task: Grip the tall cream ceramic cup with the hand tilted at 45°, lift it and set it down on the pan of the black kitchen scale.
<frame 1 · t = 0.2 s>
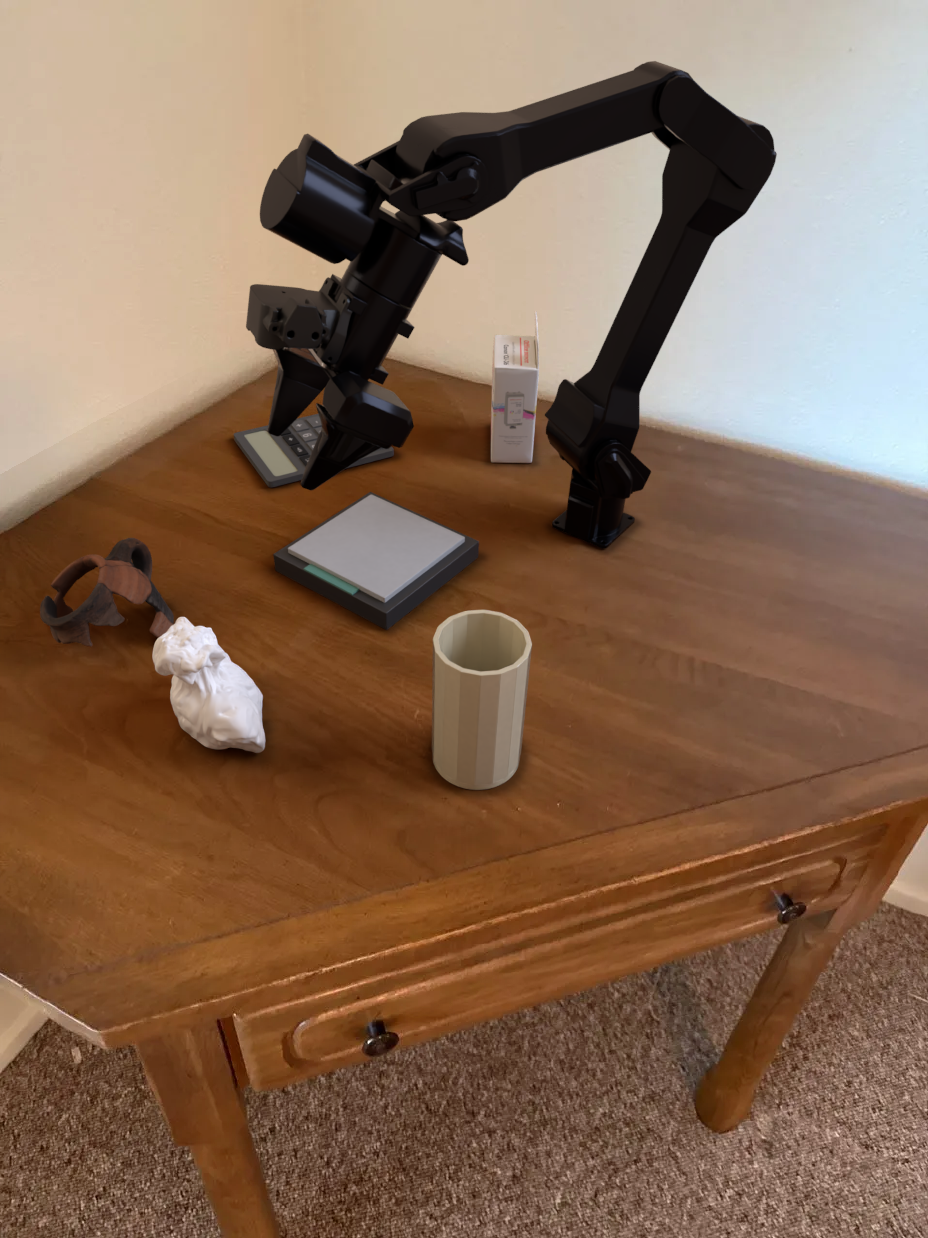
hand: (288, 460, 78), 15 cm above the table, tool tilted 35°, fingers open, 9 cm apart
ink cartridge box: (509, 446, 110), on the table
scale: (378, 564, 92), on the table
cup: (476, 755, 73), on the table
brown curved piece: (122, 625, 84), on the table
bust: (220, 726, 75), on the table
calculator: (313, 448, 108), on the table
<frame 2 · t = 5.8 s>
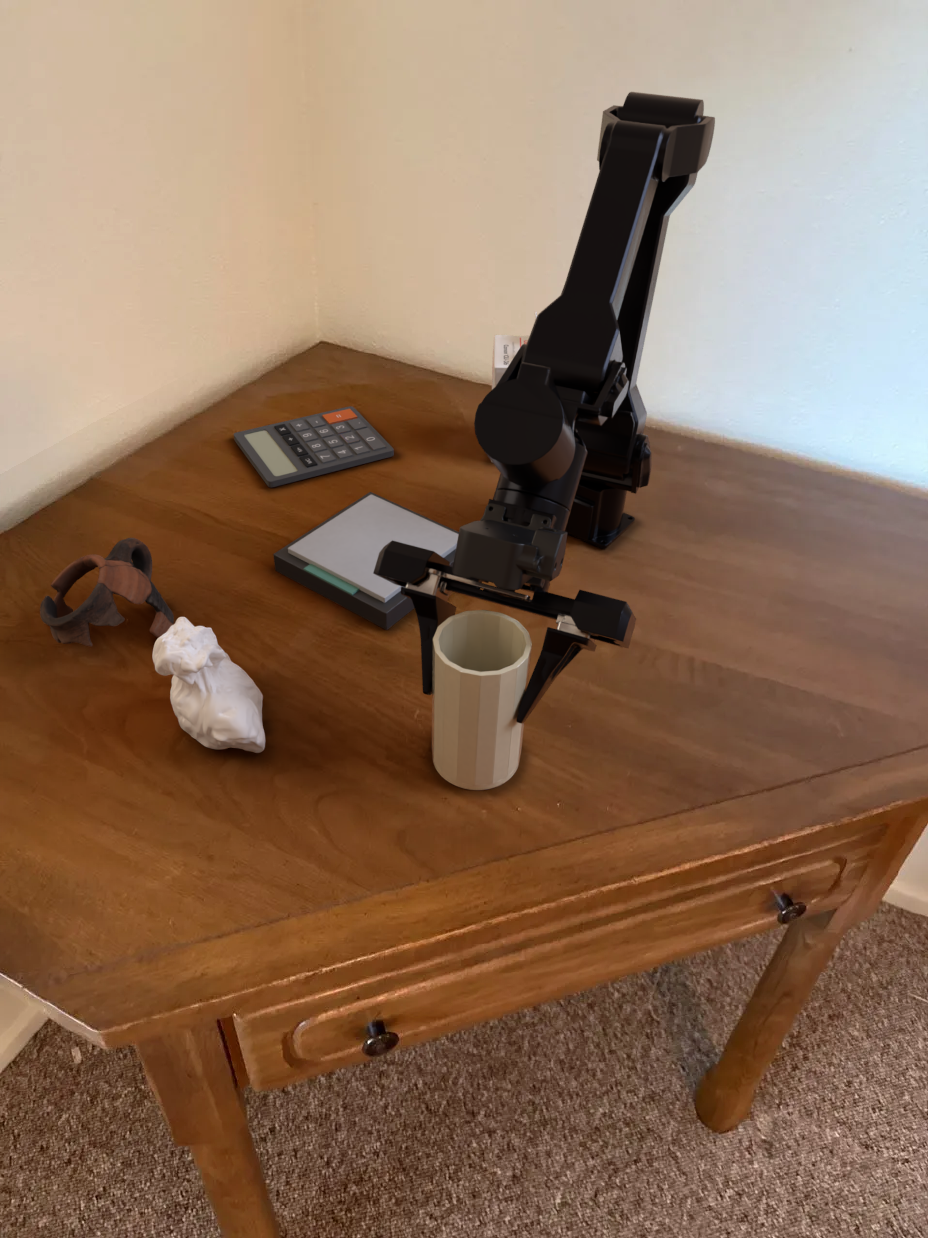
hand: (472, 708, 68), 7 cm above the table, tool tilted 45°, fingers closed on cup, 7 cm apart
cup: (476, 756, 73), on the table, touching gripper
everything else where it was.
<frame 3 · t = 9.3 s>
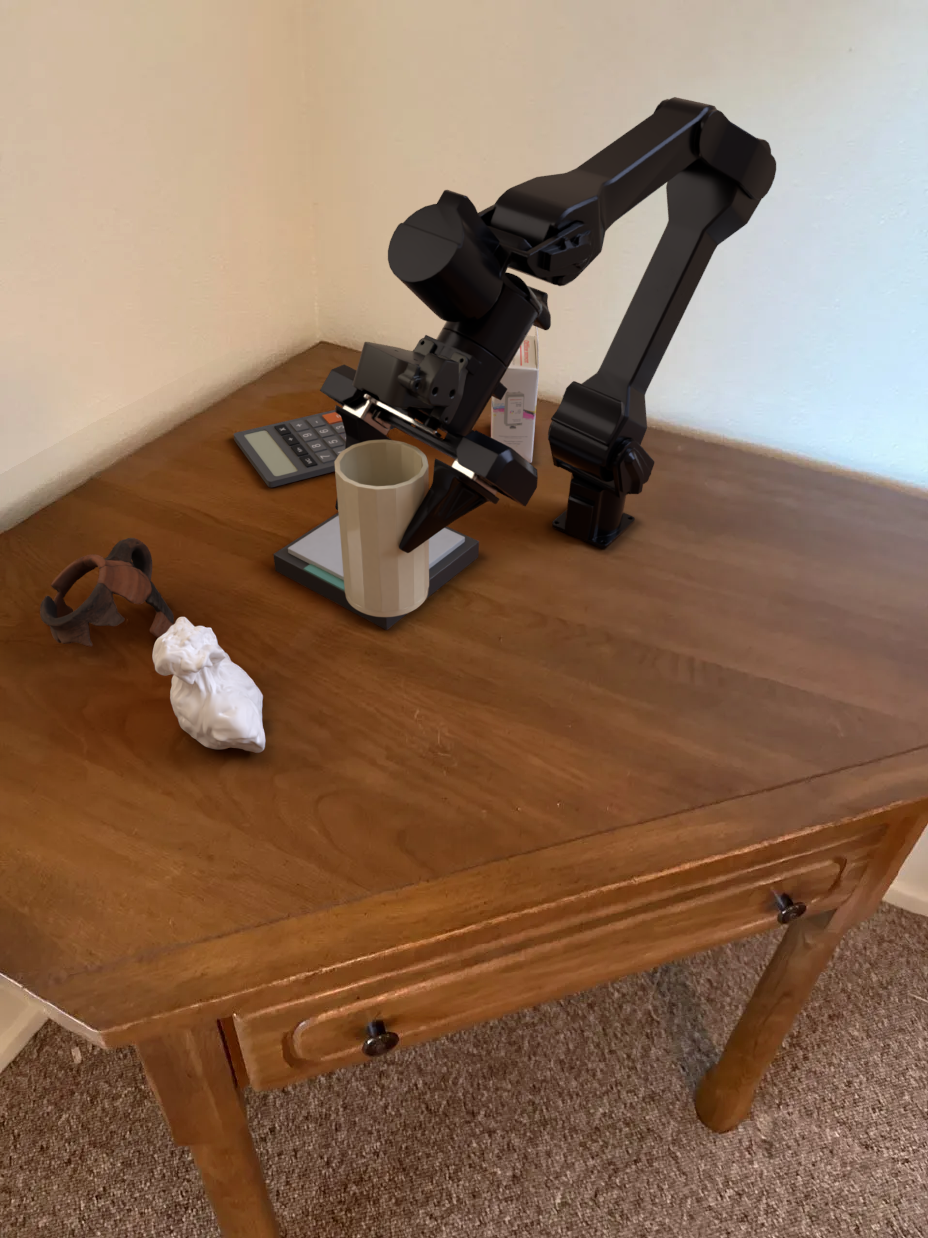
hand: (370, 530, 72), 14 cm above the table, tool tilted 45°, fingers closed on cup, 7 cm apart
cup: (386, 590, 77), point 7 cm above the table, touching gripper
everything else where it was.
when the fingers open (9 cm above the table, at t = 12.9 s): cup stays where it is, resting on scale.
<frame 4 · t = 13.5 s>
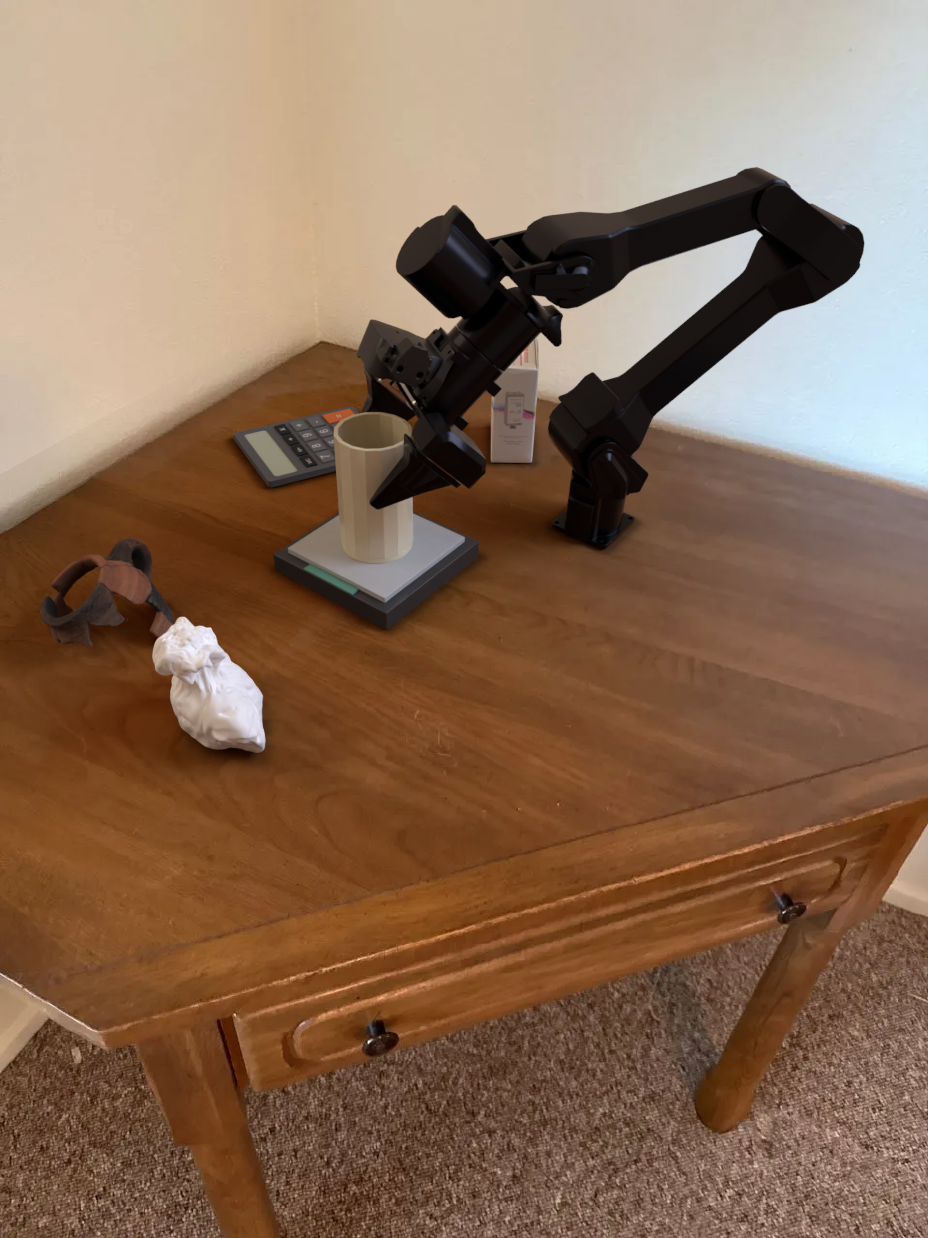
hand: (359, 479, 85), 10 cm above the table, tool tilted 45°, fingers open, 9 cm apart
cup: (377, 542, 90), point 3 cm above the table, touching scale
everything else where it was.
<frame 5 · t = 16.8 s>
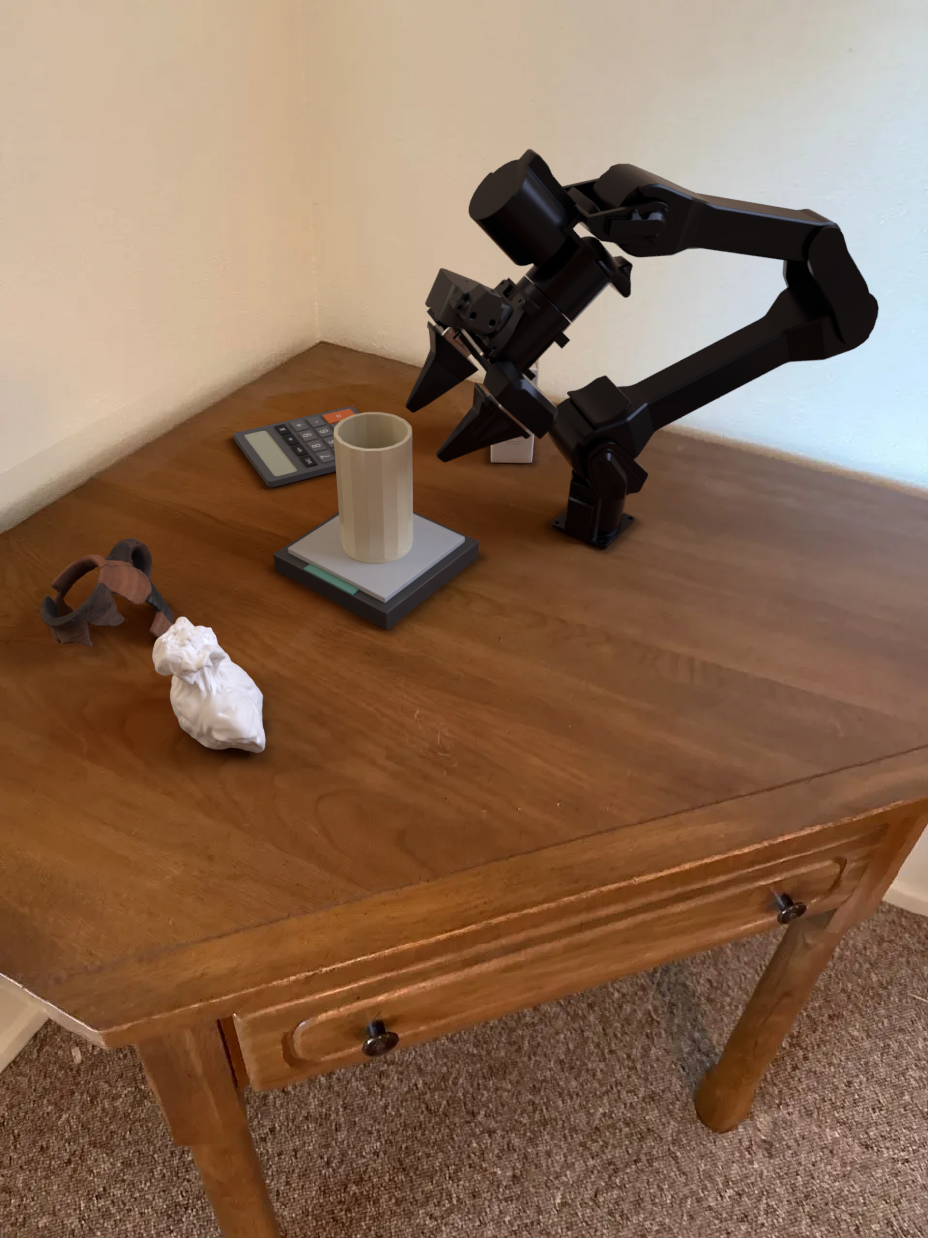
hand: (423, 433, 84), 14 cm above the table, tool tilted 45°, fingers open, 9 cm apart
nothing on the table moved.
at the end: cup inside the target area on the scale (0.0 cm from its centre), point 2.6 cm above the scale's base; cup tilted 0°; the gripper is holding nothing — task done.
